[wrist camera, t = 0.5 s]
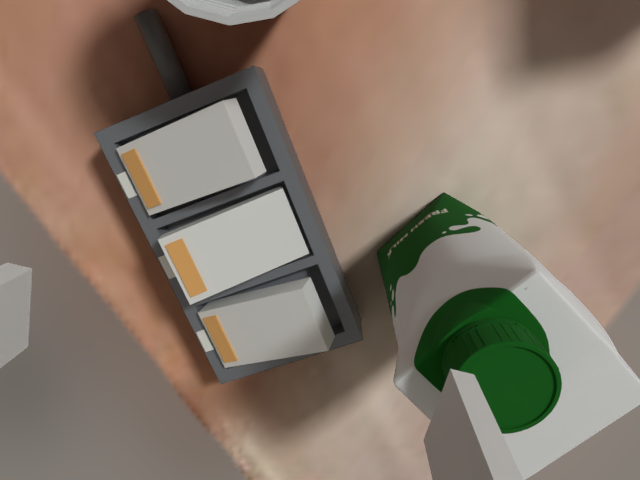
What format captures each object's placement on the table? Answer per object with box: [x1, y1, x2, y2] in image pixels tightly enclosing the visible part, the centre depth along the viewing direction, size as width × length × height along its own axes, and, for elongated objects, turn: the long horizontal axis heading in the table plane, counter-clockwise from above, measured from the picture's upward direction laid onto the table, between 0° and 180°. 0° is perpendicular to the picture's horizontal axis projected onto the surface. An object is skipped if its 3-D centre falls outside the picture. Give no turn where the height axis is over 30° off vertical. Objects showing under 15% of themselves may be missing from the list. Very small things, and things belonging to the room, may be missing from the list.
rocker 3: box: [198, 277, 335, 368], centre depth 34 cm, size 5×9×2 cm, turn 111°
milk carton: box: [377, 193, 640, 480], centre depth 27 cm, size 9×9×20 cm
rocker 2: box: [158, 186, 309, 305], centre depth 32 cm, size 5×9×2 cm, turn 111°
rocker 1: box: [116, 98, 266, 216], centre depth 31 cm, size 5×9×2 cm, turn 111°
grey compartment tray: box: [94, 9, 363, 384], centre depth 34 cm, size 27×12×4 cm, turn 21°
